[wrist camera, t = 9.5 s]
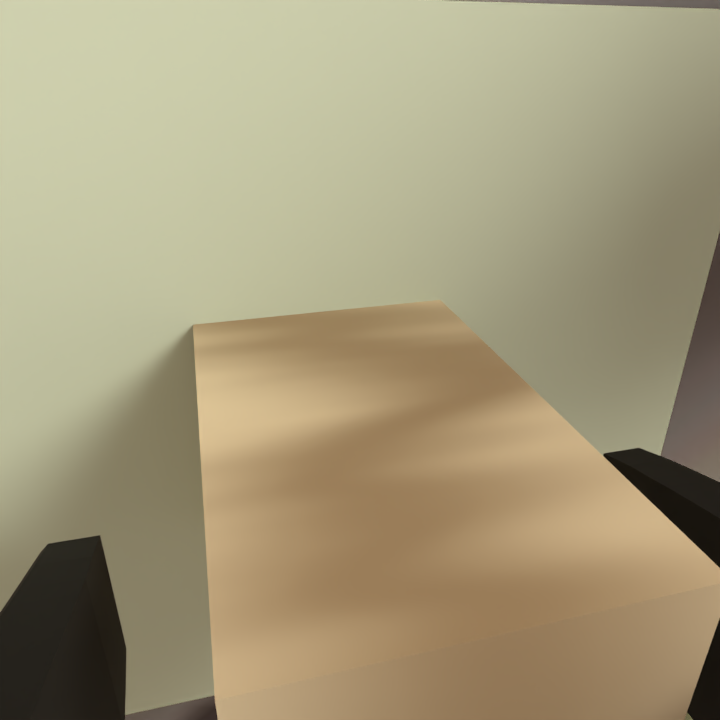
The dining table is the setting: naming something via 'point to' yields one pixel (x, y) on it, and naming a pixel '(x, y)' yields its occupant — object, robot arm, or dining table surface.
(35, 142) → the felt mat
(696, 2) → the dining table surface
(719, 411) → the dining table surface
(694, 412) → the dining table surface
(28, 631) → the robot arm
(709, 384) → the dining table surface
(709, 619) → the birch block
